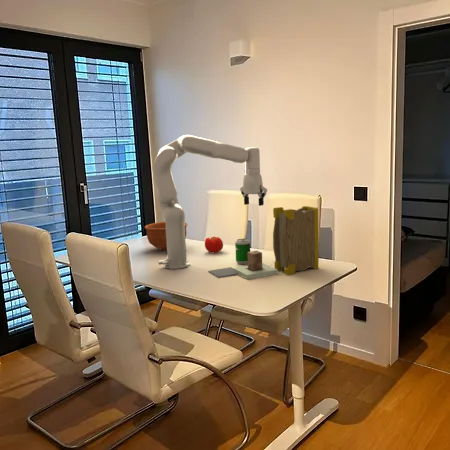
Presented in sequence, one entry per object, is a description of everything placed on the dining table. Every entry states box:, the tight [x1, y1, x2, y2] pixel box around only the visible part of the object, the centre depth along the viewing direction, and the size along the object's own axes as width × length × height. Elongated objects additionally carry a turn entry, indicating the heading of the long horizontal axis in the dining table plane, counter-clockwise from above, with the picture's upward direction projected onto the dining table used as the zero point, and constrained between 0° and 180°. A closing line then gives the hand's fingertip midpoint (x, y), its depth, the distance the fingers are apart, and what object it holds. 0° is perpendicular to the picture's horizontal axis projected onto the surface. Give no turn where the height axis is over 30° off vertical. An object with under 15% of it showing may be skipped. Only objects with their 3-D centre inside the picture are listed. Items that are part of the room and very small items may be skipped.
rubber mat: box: [207, 266, 239, 279], centre depth 224 cm, size 12×12×1 cm
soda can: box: [234, 238, 251, 265], centre depth 241 cm, size 8×8×12 cm
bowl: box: [144, 221, 188, 251], centre depth 278 cm, size 25×25×15 cm
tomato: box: [204, 236, 224, 254], centre depth 266 cm, size 11×11×9 cm
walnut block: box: [247, 250, 263, 272], centre depth 221 cm, size 5×5×10 cm
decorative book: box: [272, 205, 319, 276], centre depth 222 cm, size 20×11×30 cm, turn 116°
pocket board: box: [232, 262, 278, 280], centre depth 222 cm, size 16×14×2 cm
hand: (253, 204), depth 245 cm, fingers open, 9 cm apart
